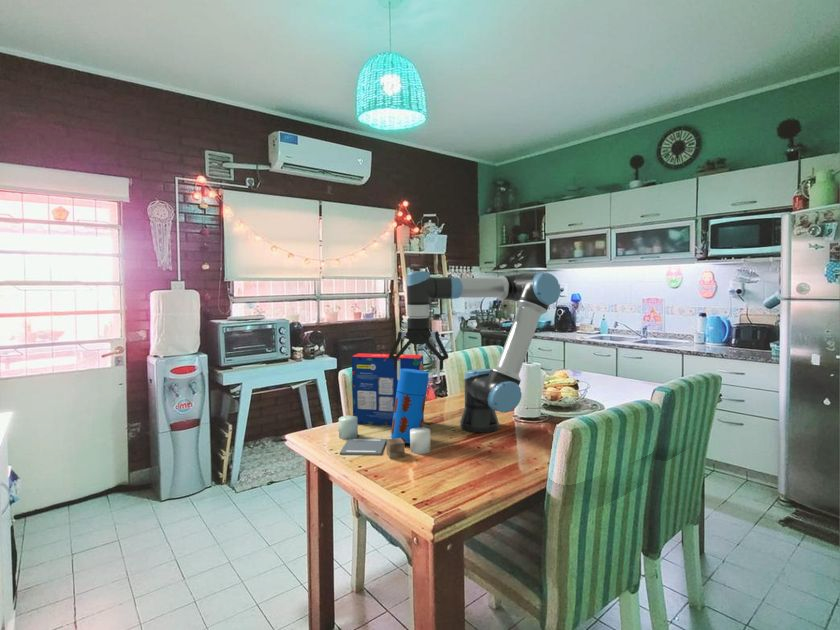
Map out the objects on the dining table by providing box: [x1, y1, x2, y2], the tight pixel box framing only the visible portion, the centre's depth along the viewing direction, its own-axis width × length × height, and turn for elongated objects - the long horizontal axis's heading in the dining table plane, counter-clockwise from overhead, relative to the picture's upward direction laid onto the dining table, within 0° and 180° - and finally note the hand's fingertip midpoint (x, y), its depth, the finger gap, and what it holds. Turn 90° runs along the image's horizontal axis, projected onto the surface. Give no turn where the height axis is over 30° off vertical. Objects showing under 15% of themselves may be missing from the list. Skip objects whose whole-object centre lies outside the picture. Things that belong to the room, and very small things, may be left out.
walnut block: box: [385, 438, 406, 460], centre depth 152 cm, size 5×5×5 cm
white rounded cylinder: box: [409, 426, 431, 455], centre depth 157 cm, size 7×7×7 cm
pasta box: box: [351, 353, 425, 427], centre depth 187 cm, size 28×8×28 cm, turn 78°
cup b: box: [338, 415, 359, 441], centre depth 171 cm, size 7×7×7 cm
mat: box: [339, 438, 387, 456], centre depth 160 cm, size 14×14×1 cm
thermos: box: [390, 369, 429, 444], centre depth 166 cm, size 11×11×25 cm
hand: (418, 379), depth 155 cm, fingers open, 13 cm apart
